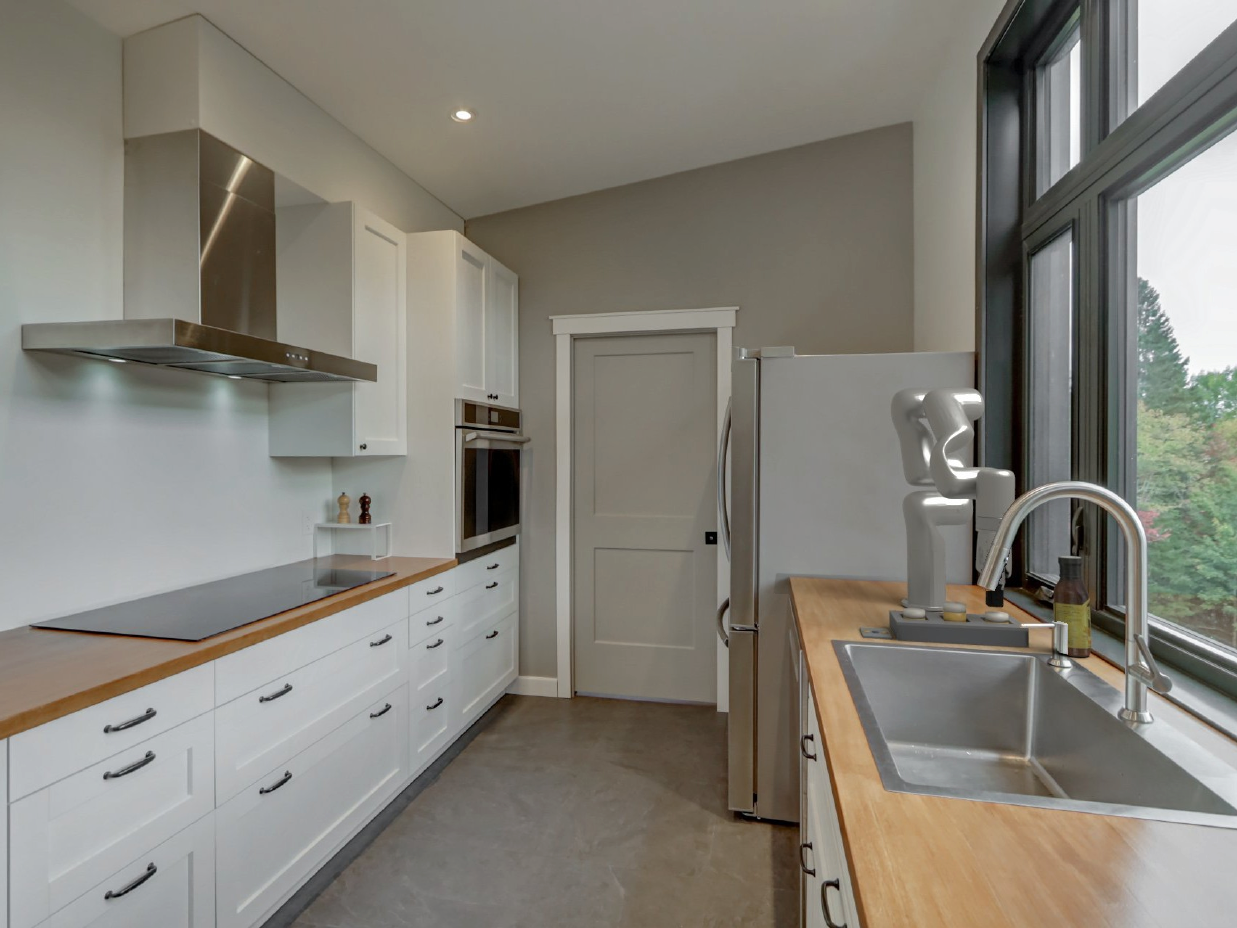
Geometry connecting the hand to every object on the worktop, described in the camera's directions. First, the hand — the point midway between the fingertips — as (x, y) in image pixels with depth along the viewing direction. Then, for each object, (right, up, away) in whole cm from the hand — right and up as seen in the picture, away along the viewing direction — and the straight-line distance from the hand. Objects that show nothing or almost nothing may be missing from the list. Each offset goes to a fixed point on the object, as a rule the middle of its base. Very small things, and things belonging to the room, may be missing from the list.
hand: (994, 606), depth 147 cm
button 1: (-16, -7, +4) cm, 18 cm away
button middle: (-8, -5, +1) cm, 10 cm away
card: (-25, -7, +5) cm, 26 cm away
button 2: (0, -7, -1) cm, 7 cm away
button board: (-8, -7, +1) cm, 11 cm away
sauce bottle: (+9, -7, -12) cm, 17 cm away
